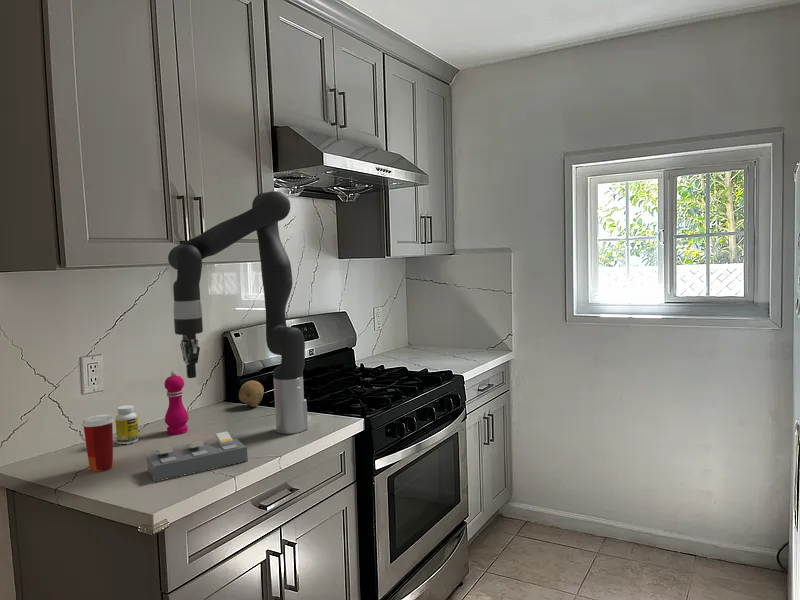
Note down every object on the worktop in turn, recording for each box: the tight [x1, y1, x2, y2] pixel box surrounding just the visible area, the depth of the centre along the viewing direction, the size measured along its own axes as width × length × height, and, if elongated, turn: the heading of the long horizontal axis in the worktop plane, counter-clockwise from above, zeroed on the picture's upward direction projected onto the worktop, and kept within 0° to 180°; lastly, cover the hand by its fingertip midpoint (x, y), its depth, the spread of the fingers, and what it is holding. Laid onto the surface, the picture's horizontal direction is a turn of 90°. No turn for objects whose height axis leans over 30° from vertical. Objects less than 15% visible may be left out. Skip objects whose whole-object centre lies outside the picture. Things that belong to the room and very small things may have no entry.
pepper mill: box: [164, 370, 189, 436], centre depth 197 cm, size 7×7×20 cm
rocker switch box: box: [146, 438, 249, 482], centre depth 165 cm, size 24×10×4 cm, turn 123°
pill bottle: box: [114, 404, 140, 445], centre depth 188 cm, size 6×6×11 cm
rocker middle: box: [186, 440, 204, 448], centre depth 166 cm, size 3×5×1 cm, turn 33°
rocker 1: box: [155, 446, 174, 454], centre depth 162 cm, size 3×5×1 cm, turn 33°
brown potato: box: [238, 380, 265, 408], centre depth 226 cm, size 9×9×10 cm
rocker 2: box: [215, 431, 234, 446], centre depth 170 cm, size 3×5×1 cm, turn 33°
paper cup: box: [81, 414, 114, 473], centre depth 165 cm, size 8×8×14 cm
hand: (191, 377), depth 173 cm, fingers closed
